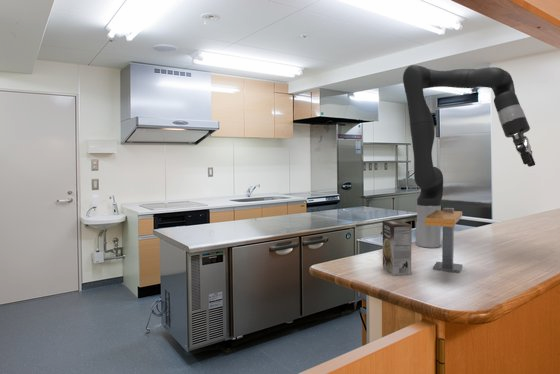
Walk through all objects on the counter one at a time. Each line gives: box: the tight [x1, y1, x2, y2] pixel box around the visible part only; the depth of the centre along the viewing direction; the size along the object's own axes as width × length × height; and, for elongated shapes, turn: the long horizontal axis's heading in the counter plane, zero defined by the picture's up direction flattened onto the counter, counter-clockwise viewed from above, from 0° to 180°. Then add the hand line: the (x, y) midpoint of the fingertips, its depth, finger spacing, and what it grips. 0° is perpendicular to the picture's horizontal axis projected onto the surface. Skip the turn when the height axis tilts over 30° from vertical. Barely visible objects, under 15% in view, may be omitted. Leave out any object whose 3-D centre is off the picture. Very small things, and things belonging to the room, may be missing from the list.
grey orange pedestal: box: [425, 207, 463, 274], centre depth 119 cm, size 8×22×20 cm, turn 148°
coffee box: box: [382, 219, 413, 276], centre depth 123 cm, size 9×6×16 cm
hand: (529, 164), depth 127 cm, fingers open, 8 cm apart
